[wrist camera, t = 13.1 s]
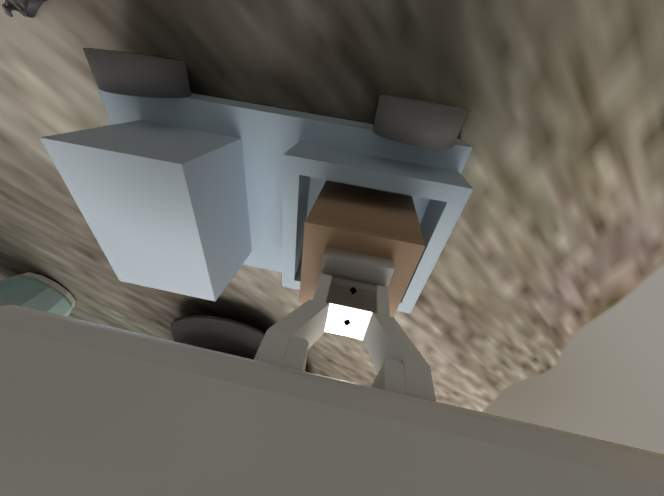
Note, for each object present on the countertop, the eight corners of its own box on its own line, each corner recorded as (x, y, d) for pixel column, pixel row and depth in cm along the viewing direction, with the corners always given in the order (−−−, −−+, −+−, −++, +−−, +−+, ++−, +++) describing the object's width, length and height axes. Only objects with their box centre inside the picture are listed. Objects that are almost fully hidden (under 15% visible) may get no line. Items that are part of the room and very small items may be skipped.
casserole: (320, 413, 39) (308, 484, 32) (215, 395, 41) (183, 457, 35) (305, 310, 24) (277, 400, 18) (146, 293, 27) (68, 365, 20)
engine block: (326, 180, 14) (300, 229, 9) (411, 196, 14) (428, 254, 9) (317, 248, 17) (295, 310, 12) (388, 262, 17) (391, 331, 12)
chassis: (179, 247, 22) (109, 306, 16) (117, 49, 13) (-71, 29, 8) (396, 292, 21) (403, 372, 15) (474, 108, 12) (553, 133, 7)
